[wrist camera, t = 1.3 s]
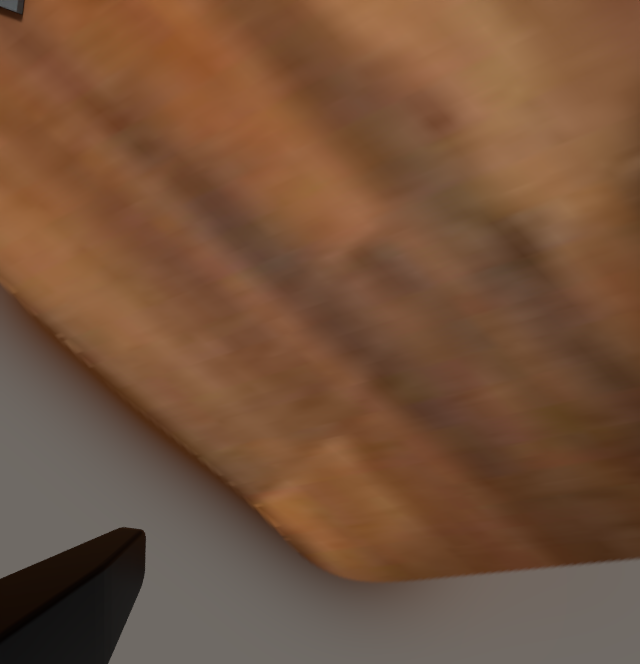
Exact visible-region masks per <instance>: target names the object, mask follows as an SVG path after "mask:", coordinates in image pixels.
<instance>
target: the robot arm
mask: <svg viewBox="0 0 640 664" xmlns="http://www.w3.org/2000/svg"><path fill="white" fill-rule="evenodd" d="M145 548H146V536H145V532H144V531H143V530H141V529H134V528H126V527H122V528H118V529H116V530H113V531H111V532H109V533H106V534H104V535H102V536H99V537H97V538H95V539H92V540H90V541H88V542H85V543H83V544H81V545H78V546H76V547H74V548H71V549H69V550H67V551H64V552H62V553H60V554H57V555H55V556H53V557H50V558H48V559H46V560H43V561H41V562H39V563H36V564H34V565H32V566H29V567H27V568H25V569H22V570H20V571H17V572H15V573H13V574H10V575H8V576H6V577H3V578H1V579H0V664H108V663H109V660H110V658H111V656H112V653H113V651H114V649H115V646H116V644H117V642H118V640H119V637H120V635H121V632H122V630H123V628H124V625H125V623H126V621H127V619H128V616H129V614H130V612H131V610H132V607H133V605H134V603H135V600H136V598H137V596H138V593H139V591H140V589H141V586H142V583H143V579H144V573H145Z"/></svg>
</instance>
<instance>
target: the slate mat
mask: <svg viewBox="0 0 640 664" xmlns="http://www.w3.org/2000/svg"><path fill="white" fill-rule="evenodd" d="M23 4H24V0H0V7H3V8H5V9H8V10H11V11H14V12H16V13H19V14H22V12H23Z"/></svg>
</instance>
